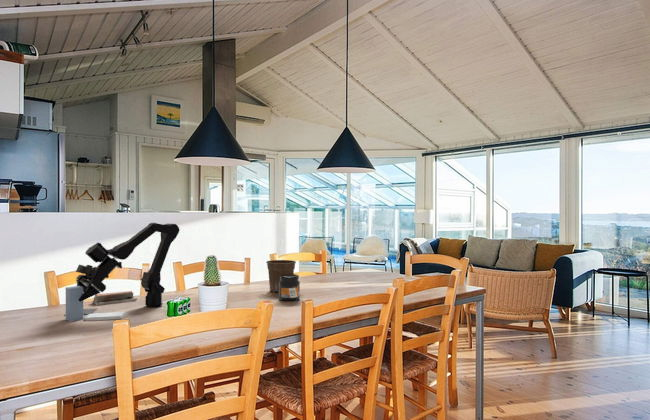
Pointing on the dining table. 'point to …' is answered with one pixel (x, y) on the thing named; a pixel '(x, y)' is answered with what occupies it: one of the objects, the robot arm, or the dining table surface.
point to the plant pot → (278, 271)
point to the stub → (74, 303)
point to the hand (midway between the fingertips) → (75, 299)
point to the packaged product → (113, 298)
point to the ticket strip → (104, 316)
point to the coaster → (87, 311)
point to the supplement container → (289, 287)
